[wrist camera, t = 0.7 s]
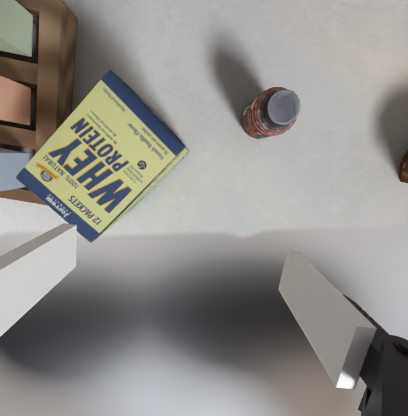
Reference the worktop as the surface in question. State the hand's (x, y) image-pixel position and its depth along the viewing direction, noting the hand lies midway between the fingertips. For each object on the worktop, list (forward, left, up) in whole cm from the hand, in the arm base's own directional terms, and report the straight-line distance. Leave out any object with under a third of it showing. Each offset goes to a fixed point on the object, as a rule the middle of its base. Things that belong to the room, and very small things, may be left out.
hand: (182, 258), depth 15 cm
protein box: (-4, -10, -27) cm, 29 cm away
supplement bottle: (-14, +9, -27) cm, 32 cm away
